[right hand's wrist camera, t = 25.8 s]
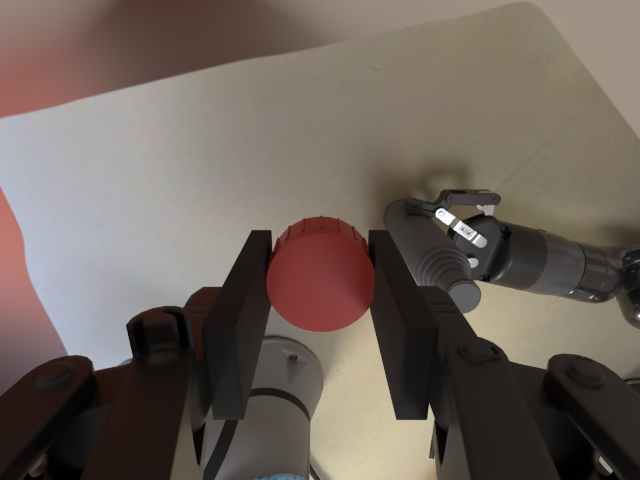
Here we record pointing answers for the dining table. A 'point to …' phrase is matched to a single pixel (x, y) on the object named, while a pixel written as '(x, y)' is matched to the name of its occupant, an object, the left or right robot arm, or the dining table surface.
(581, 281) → the left robot arm
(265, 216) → the dining table surface
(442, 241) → the bottle
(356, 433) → the dining table surface
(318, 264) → the cap
